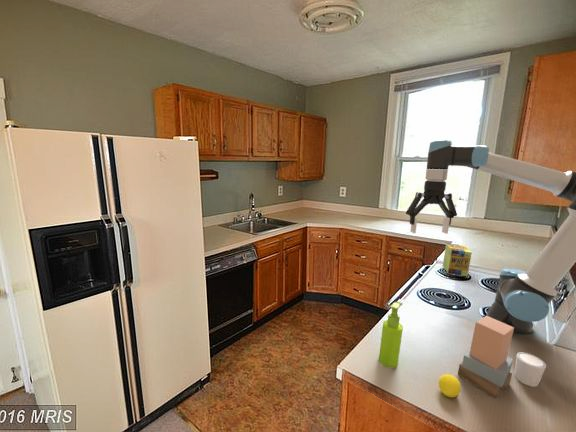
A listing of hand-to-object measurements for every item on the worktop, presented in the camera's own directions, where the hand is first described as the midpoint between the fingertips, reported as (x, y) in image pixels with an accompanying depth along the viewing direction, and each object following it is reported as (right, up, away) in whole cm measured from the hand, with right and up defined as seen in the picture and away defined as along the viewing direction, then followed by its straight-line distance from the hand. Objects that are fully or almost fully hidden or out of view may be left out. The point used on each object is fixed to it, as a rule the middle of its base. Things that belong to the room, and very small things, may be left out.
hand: (428, 232), depth 113 cm
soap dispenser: (-25, -41, -22) cm, 53 cm away
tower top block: (+2, -40, -30) cm, 49 cm away
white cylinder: (+16, -44, -28) cm, 54 cm away
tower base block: (+2, -43, -29) cm, 52 cm away
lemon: (-12, -44, -34) cm, 57 cm away
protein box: (+45, -27, +56) cm, 77 cm away
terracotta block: (+2, -36, -31) cm, 47 cm away
